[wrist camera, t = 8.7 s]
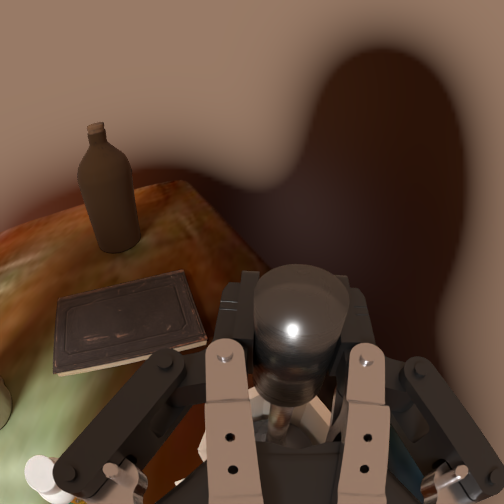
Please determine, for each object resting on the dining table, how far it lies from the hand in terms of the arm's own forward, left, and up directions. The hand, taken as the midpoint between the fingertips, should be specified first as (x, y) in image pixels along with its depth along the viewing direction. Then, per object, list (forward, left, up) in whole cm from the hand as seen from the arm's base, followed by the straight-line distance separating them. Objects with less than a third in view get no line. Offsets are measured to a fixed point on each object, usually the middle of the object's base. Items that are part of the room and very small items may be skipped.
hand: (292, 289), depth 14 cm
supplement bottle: (-4, -22, -27) cm, 35 cm away
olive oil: (-51, -5, -27) cm, 58 cm away
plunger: (+2, -2, -16) cm, 17 cm away
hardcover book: (-27, -9, -28) cm, 40 cm away
